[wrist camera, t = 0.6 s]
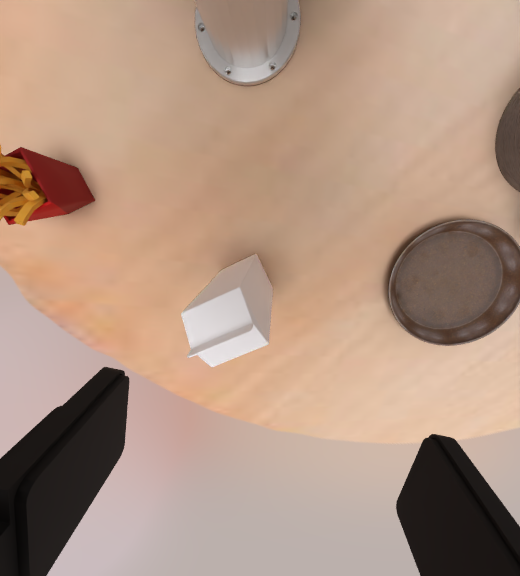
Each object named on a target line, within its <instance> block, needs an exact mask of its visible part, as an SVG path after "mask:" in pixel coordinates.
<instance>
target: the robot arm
mask: <svg viewBox="0 0 520 576" xmlns="http://www.w3.org/2000/svg"><path fill="white" fill-rule="evenodd" d="M194 2H195V4H196V11H195V30H196V37H197V40H198V43H199V47H200V49H201V51H202V54H203V56H204V57H205V59H206V61H207V62H208V64H209V66H210V67H211V68H212V69H213V70H214V71H215V72H216V73H217V74H218V75H219V76H221V77H222V78H223V79H225V80H227V81H229V82H231V83H234V84H238V85H249V86H252V85H256V84H261V83H263V82H266V81H268V80H270V79H271V78H273V77H274V76H276V75H277V74H278V73H279V72H280V71H281V70H282V69H283V68H284V67H285V66H286V64H287V63H288V61H289V60H290V58H291V57H292V55H293V52H294V50H295V48H296V45H297V41H298V37H299V31H300V19H301V13H300V6H299V0H194ZM293 18H294V19H295V20H294V21H293V20H292V19H293ZM203 29H204V31H202V30H203ZM201 31H202V32H201ZM271 67H274V68H275V69H274V70H271ZM228 72H231V73H230V74H229V75H227V73H228ZM128 391H129V377H128V376H125V373H124V371H122V370H118V369H113V368H108V367H104V368H102V369H101V370H100V371H99V372H98V373H97V374H96V375H95V376H94V377H93V378H92V379H90V380H89V381H88V382H87V383H86V384H85V385H84V386H83V387H82V388H81V389H80V390H79V391H78V392H77V393H76V394H75V395H74V396H72V397H71V398H70V399H69V400H68V401H67V402H66V403H65V404H64V405H63V406H60V407H57V408H55V409H54V410H53V411H52V412H51V413H49V414H48V415H47V416H46V417H45V418H44V419H43V420H42V421H41V422H40V423H39V424H37V425H36V426H35V427H34V428H33V429H32V430H31V431H30V432H29V433H28V434H27V435H25V436H24V437H23V438H22V439H21V440H20V441H19V442H18V443H17V444H16V445H15V446H14V447H12V448H11V450H9V451H8V452H7V453H6V454H5V455H4V456H3V457H2V458H1V459H0V576H46V575H47V574H48V572H49V570H50V569H51V567H52V566H53V564H54V563H55V561H56V559H57V558H58V556H59V554H60V553H61V551H62V550H63V548H64V547H65V545H66V543H67V542H68V540H69V538H70V537H71V535H72V533H73V532H74V530H75V529H76V527H77V526H78V524H79V522H80V521H81V519H82V518H83V516H84V514H85V513H86V511H87V510H88V508H89V506H90V505H91V503H92V502H93V500H94V498H95V497H96V495H97V493H98V492H99V490H100V489H101V487H102V486H103V484H104V482H105V481H106V479H107V478H108V476H109V474H110V473H111V471H112V469H113V468H114V466H115V464H116V463H117V461H118V460H119V458H120V456H121V454H122V452H123V449H124V445H125V432H126V419H127V405H128ZM396 509H397V514H398V517H399V520H400V522H401V525H402V528H403V530H404V533H405V536H406V538H407V541H408V544H409V546H410V549H411V552H412V554H413V557H414V559H415V562H416V565H417V568H418V570H419V572H420V576H520V527H519V525H518V524H517V523H516V521H515V520H514V518H513V517H512V516H511V514H510V513H509V512H508V510H507V509H506V508H505V506H504V505H503V504H502V502H501V501H500V499H499V498H498V497H497V495H496V494H495V493H494V491H493V490H492V489H491V487H490V486H489V485H488V483H487V482H486V481H485V479H484V478H483V476H482V475H481V474H480V473H479V471H478V470H477V468H476V467H475V466H474V464H473V463H472V462H471V460H470V459H469V458H468V456H467V455H466V453H465V452H464V451H463V449H462V448H461V447H460V445H459V444H458V443H457V441H456V440H455V439H453V438H451V437H446V436H441V435H436V434H432V435H430V436H429V438H425V439H424V440H423V442H422V444H421V447H420V449H419V451H418V454H417V456H416V458H415V461H414V463H413V465H412V468H411V470H410V472H409V474H408V477H407V479H406V481H405V484H404V486H403V488H402V490H401V493H400V495H399V497H398V500H397V504H396Z"/></svg>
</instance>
